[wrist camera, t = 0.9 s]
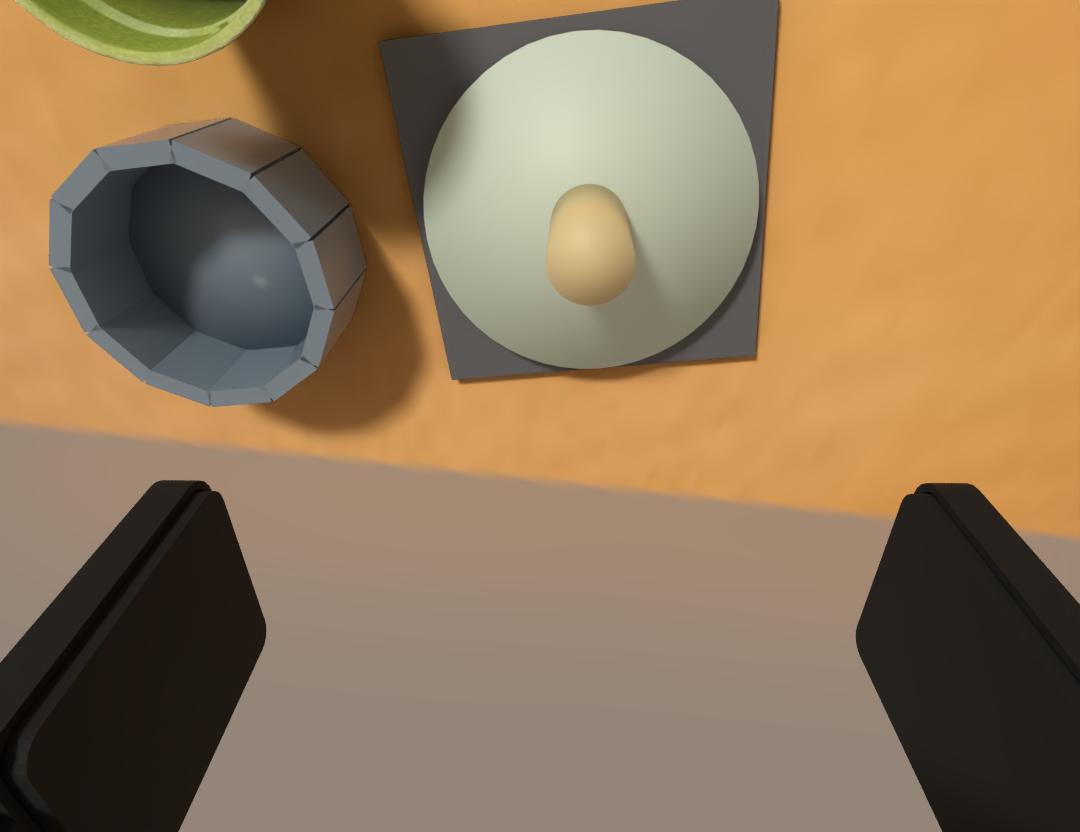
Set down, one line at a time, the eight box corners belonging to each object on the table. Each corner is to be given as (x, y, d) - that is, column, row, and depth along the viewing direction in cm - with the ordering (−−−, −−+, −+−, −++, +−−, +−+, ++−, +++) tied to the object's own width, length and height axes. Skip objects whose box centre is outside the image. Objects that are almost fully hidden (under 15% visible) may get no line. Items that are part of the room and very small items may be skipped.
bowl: (324, 105, 27) (277, 125, 23) (387, 344, 33) (360, 395, 29) (79, 136, 28) (-8, 161, 24) (183, 361, 34) (127, 413, 30)
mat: (775, -13, 24) (779, -13, 24) (752, 349, 32) (755, 355, 32) (382, 40, 26) (378, 41, 25) (453, 374, 34) (452, 379, 33)
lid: (764, 5, 24) (814, 7, 19) (745, 346, 31) (777, 414, 26) (394, 54, 25) (349, 69, 20) (459, 370, 33) (438, 438, 28)
